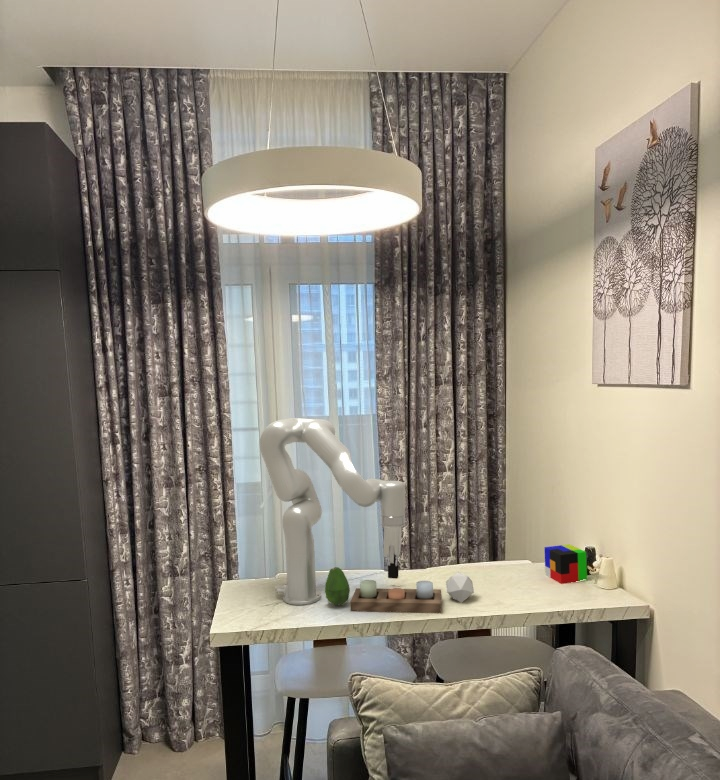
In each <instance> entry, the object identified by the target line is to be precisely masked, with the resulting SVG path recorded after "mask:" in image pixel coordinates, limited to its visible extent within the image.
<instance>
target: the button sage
mask: <svg viewBox="0 0 720 780" xmlns="http://www.w3.org/2000/svg"><path fill="white" fill-rule="evenodd" d="M359 588H360V596H361V597H363V598H373V597H375V596H376V595H377V590H376V589H377V581H376V580H374V579H364V580H361V581H360V582H359Z"/></svg>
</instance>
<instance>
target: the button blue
mask: <svg viewBox="0 0 720 780" xmlns="http://www.w3.org/2000/svg"><path fill="white" fill-rule="evenodd" d="M415 586H416V588H415V589H417V597H418V598H420V599H430V598H432V597H433V589H434V583H433V582H432V581H430V580H419V581H417V582H416V584H415Z"/></svg>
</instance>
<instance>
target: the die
mask: <svg viewBox="0 0 720 780" xmlns="http://www.w3.org/2000/svg"><path fill="white" fill-rule="evenodd" d="M445 585H446V587H445V588H446V593H447V594H448V595H449V597H451V598H452V599H453V600H456V601H457V602H459V603H462V602H464V601H465V600H467V599H468V598H469V597H470V596H471V595H472V594H474V593H475V591H474V584H473V581H472V579H471V578H470V577H469V576H468V575H467V574H464V573H462V572H461V571H458V572H456V573H455V574H453V575H451V576H450V577H449V578H448V579H447V580H446V581H445Z"/></svg>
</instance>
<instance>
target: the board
mask: <svg viewBox="0 0 720 780" xmlns="http://www.w3.org/2000/svg"><path fill="white" fill-rule="evenodd" d="M389 589H390V588H376V590H377V595H376V596H375V597H373V598H363V597H361V596H360V587H358V588H357V587H356V588H355V590H354V592H353V594H352V596H351V598H350V601H349V604H350V605H349V608H350V611H349V612H357V613H359V612H365V613H405V614H407V613H408V614H409V613H413V614H417V613H418V614H442V589H435V588H433V597H432V598H430V599H420V598H418V597H417V589H416V588H403V589H404V590H405V599H389V598H388V590H389Z"/></svg>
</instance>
